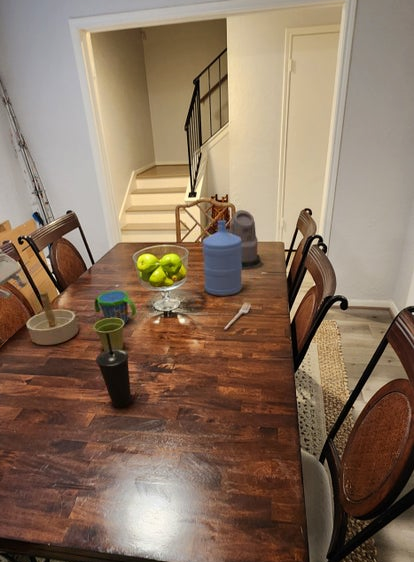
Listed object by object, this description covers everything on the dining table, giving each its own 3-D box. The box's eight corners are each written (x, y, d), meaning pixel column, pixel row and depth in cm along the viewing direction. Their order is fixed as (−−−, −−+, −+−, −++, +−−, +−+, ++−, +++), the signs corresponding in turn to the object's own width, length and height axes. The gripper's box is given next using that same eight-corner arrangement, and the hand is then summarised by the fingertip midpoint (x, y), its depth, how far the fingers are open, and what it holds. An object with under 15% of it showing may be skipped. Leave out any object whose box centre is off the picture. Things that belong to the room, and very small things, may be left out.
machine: (266, 266, 180) (268, 213, 167) (236, 271, 176) (235, 217, 163) (241, 250, 204) (242, 203, 191) (214, 254, 200) (212, 206, 187)
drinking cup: (110, 392, 99) (95, 326, 89) (139, 392, 99) (127, 325, 88) (102, 411, 93) (85, 342, 82) (133, 411, 92) (119, 341, 82)
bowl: (26, 348, 121) (20, 332, 118) (38, 326, 135) (33, 311, 132) (74, 343, 123) (70, 327, 120) (81, 322, 136) (78, 307, 133)
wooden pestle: (47, 336, 127) (34, 295, 119) (50, 330, 130) (38, 290, 123) (60, 335, 127) (48, 294, 119) (62, 329, 131) (51, 289, 123)
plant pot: (134, 343, 121) (130, 319, 117) (117, 358, 114) (112, 333, 109) (110, 339, 124) (105, 315, 120) (92, 353, 117) (87, 329, 112)
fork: (220, 329, 127) (220, 324, 126) (243, 306, 141) (243, 302, 140) (229, 331, 125) (229, 326, 124) (251, 308, 140) (251, 303, 139)
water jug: (237, 297, 149) (237, 226, 134) (200, 295, 153) (196, 225, 138) (244, 283, 161) (245, 216, 147) (210, 281, 165) (207, 216, 151)
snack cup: (91, 324, 134) (85, 299, 129) (109, 312, 142) (104, 288, 137) (126, 332, 128) (121, 305, 123) (143, 319, 136) (139, 293, 131)
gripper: (-40, 266, 106) (3, 297, 111) (1, 245, 124) (36, 273, 128) (-48, 280, 109) (-6, 311, 113) (-7, 258, 126) (28, 285, 131)
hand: (17, 291), depth 121 cm, fingers open, 8 cm apart
